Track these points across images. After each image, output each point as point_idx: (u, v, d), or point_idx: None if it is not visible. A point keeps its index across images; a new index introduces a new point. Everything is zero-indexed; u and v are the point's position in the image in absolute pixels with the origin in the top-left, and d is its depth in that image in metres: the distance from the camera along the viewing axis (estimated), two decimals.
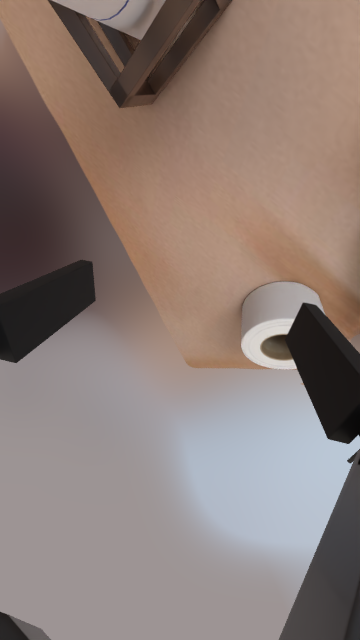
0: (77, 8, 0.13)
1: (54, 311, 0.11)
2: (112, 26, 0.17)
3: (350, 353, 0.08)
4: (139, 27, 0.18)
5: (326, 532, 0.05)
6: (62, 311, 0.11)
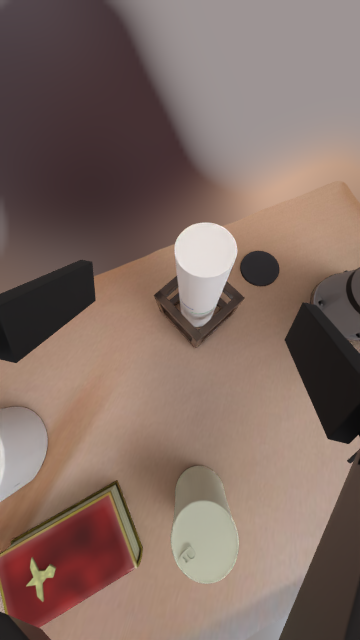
0: None
1: (54, 311, 0.11)
2: None
3: (350, 353, 0.08)
4: (181, 307, 0.40)
5: (326, 532, 0.05)
6: (62, 311, 0.11)
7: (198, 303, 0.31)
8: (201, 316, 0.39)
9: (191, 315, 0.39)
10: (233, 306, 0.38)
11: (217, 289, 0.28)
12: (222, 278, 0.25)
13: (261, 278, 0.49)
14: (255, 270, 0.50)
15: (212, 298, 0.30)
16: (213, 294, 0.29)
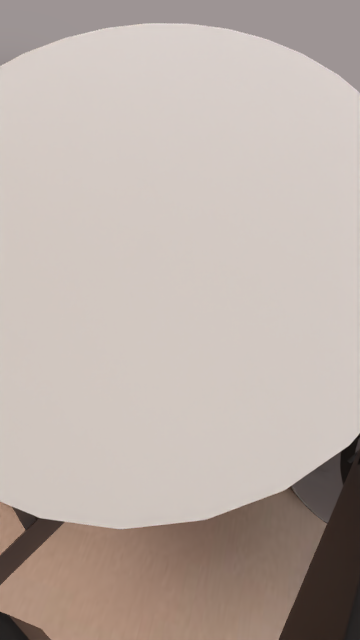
0: None
1: None
2: None
3: None
4: None
5: (326, 532, 0.05)
6: None
7: None
8: None
9: None
10: (54, 526, 0.15)
11: None
12: None
13: None
14: None
15: None
16: None
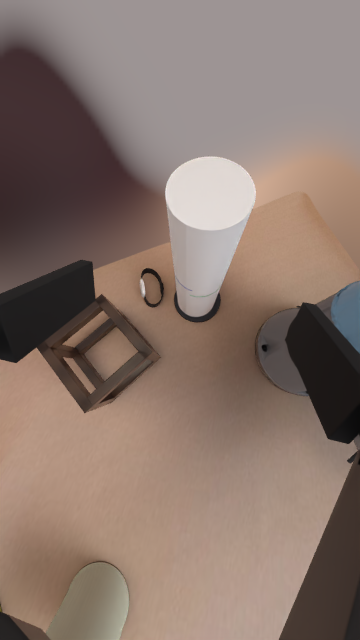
0: None
1: (54, 311, 0.11)
2: None
3: (350, 353, 0.08)
4: (177, 290, 0.33)
5: (326, 532, 0.05)
6: (62, 311, 0.11)
7: (198, 279, 0.24)
8: (202, 301, 0.31)
9: (189, 299, 0.31)
10: (136, 363, 0.29)
11: (225, 257, 0.20)
12: (233, 236, 0.17)
13: None
14: None
15: (217, 272, 0.23)
16: (219, 265, 0.21)
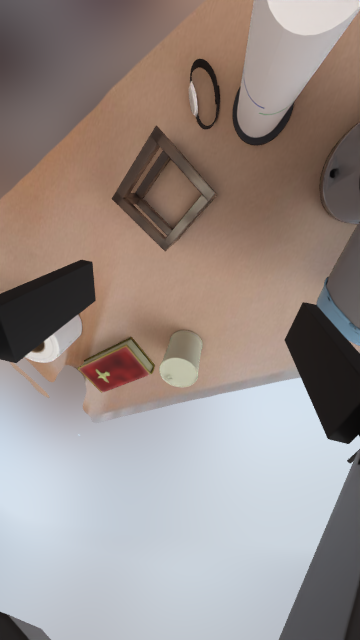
0: (246, 53, 0.20)
1: (54, 311, 0.11)
2: (242, 78, 0.24)
3: (350, 353, 0.08)
4: (242, 103, 0.27)
5: (326, 532, 0.05)
6: (62, 311, 0.11)
7: (277, 94, 0.20)
8: (272, 118, 0.26)
9: (257, 118, 0.27)
10: (201, 207, 0.32)
11: (321, 58, 0.16)
12: (343, 28, 0.14)
13: None
14: None
15: (304, 80, 0.19)
16: (310, 71, 0.18)
